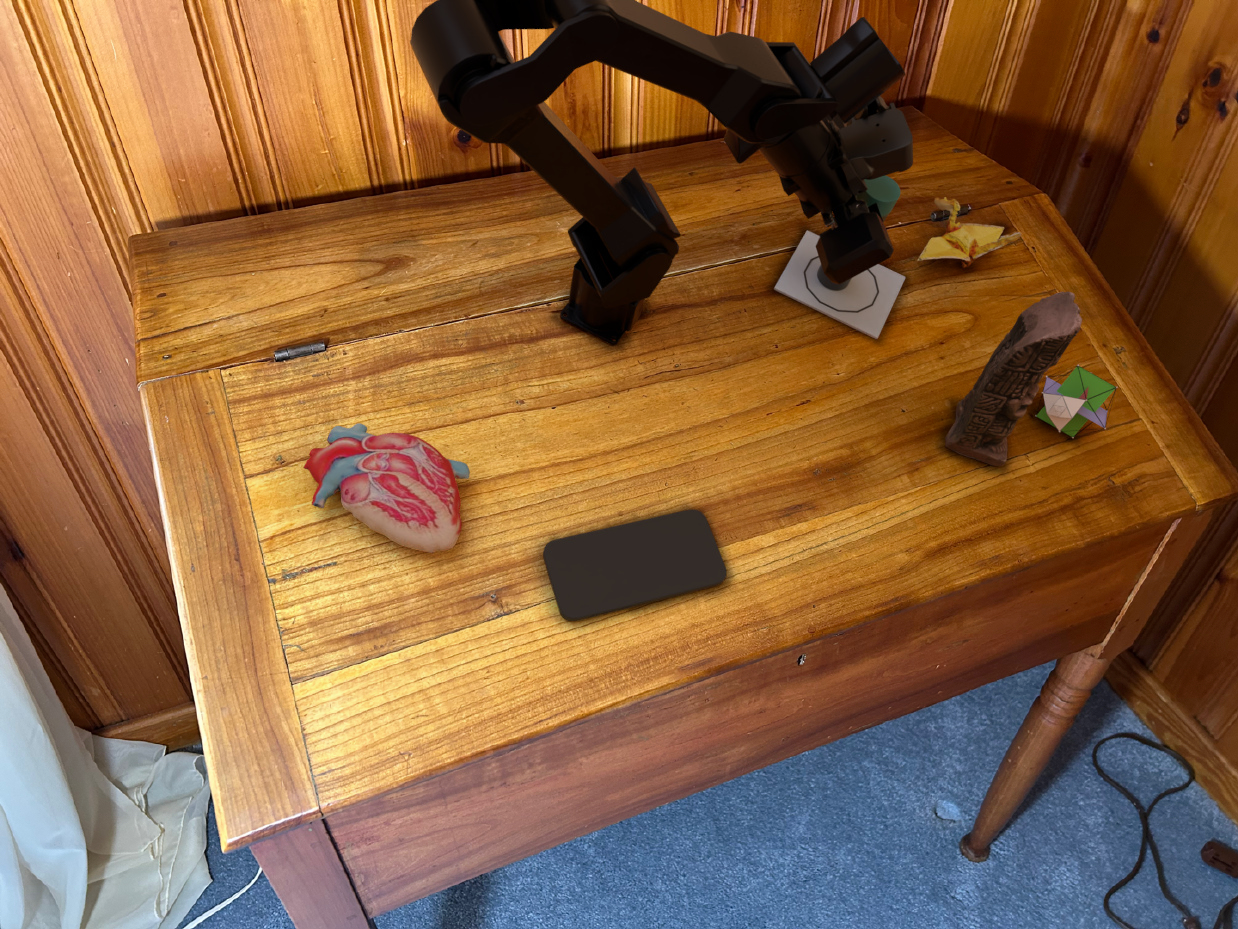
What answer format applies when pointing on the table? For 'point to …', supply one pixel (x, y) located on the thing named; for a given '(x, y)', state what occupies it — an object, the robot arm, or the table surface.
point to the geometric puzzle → (1075, 401)
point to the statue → (1013, 378)
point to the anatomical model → (392, 485)
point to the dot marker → (878, 192)
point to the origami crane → (964, 238)
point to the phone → (633, 564)
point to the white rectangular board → (853, 305)
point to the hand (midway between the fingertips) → (868, 234)
